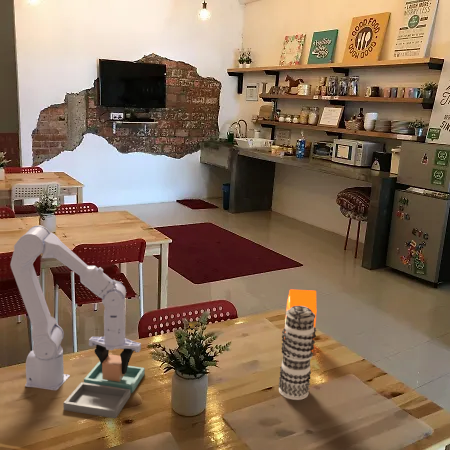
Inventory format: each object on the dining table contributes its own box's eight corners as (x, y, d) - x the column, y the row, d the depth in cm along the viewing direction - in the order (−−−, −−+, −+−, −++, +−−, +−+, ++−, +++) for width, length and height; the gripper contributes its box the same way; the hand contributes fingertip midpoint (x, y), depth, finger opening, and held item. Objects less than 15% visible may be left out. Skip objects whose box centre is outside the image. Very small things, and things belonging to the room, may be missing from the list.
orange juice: (312, 352, 165) (318, 295, 160) (285, 350, 165) (290, 293, 160) (309, 341, 173) (314, 286, 168) (283, 339, 173) (288, 285, 168)
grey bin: (63, 411, 128) (63, 402, 127) (81, 390, 138) (81, 382, 137) (115, 420, 126) (115, 411, 125) (130, 397, 135) (130, 389, 135)
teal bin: (84, 387, 139) (83, 379, 138) (99, 369, 149) (99, 361, 148) (132, 394, 137) (132, 386, 136) (144, 375, 146) (144, 367, 146)
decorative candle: (317, 395, 140) (325, 312, 134) (290, 404, 136) (297, 318, 130) (297, 379, 148) (304, 300, 142) (271, 387, 144) (277, 305, 138)
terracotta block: (102, 379, 140) (102, 363, 138) (109, 369, 145) (109, 354, 143) (119, 381, 139) (119, 365, 138) (126, 372, 144) (126, 356, 142)
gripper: (83, 329, 136) (84, 374, 139) (134, 336, 134) (134, 382, 137) (94, 318, 143) (95, 362, 146) (143, 325, 140) (143, 369, 144)
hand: (115, 371), depth 142 cm, fingers closed on terracotta block, 5 cm apart
